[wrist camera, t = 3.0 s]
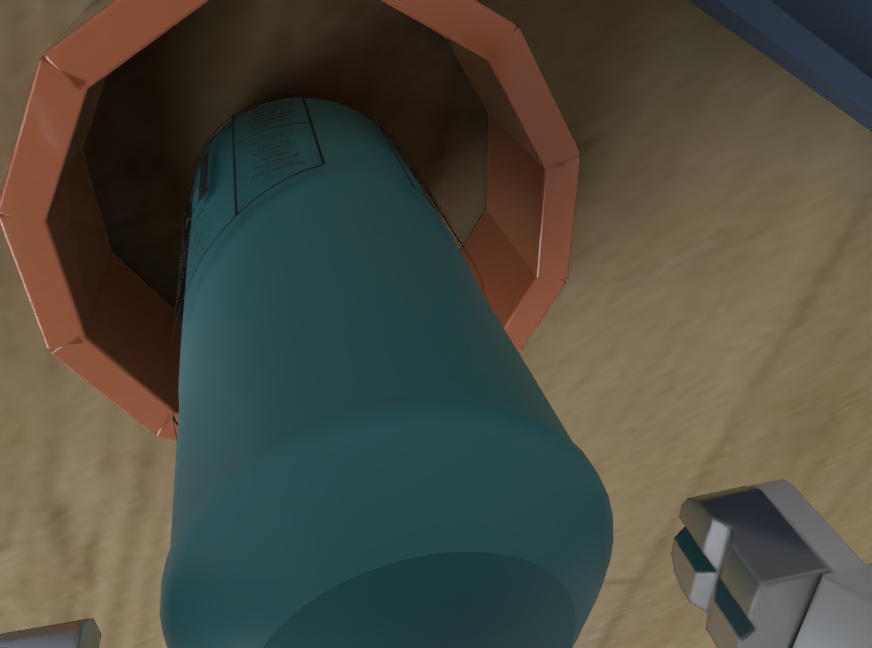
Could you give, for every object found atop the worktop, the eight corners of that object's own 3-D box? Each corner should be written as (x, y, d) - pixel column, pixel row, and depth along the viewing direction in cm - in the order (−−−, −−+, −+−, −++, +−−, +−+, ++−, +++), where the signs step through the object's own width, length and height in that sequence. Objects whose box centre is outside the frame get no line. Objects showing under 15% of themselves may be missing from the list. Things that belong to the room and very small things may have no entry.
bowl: (-3, 291, 22) (-55, 389, 18) (144, -198, 17) (117, -218, 13) (396, 405, 28) (424, 497, 24) (595, 74, 23) (675, 120, 19)
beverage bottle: (178, 70, 20) (-50, 1049, 3) (412, 75, 21) (1006, 762, 5) (201, 277, 23) (138, 1260, 7) (401, 268, 25) (734, 1049, 9)
